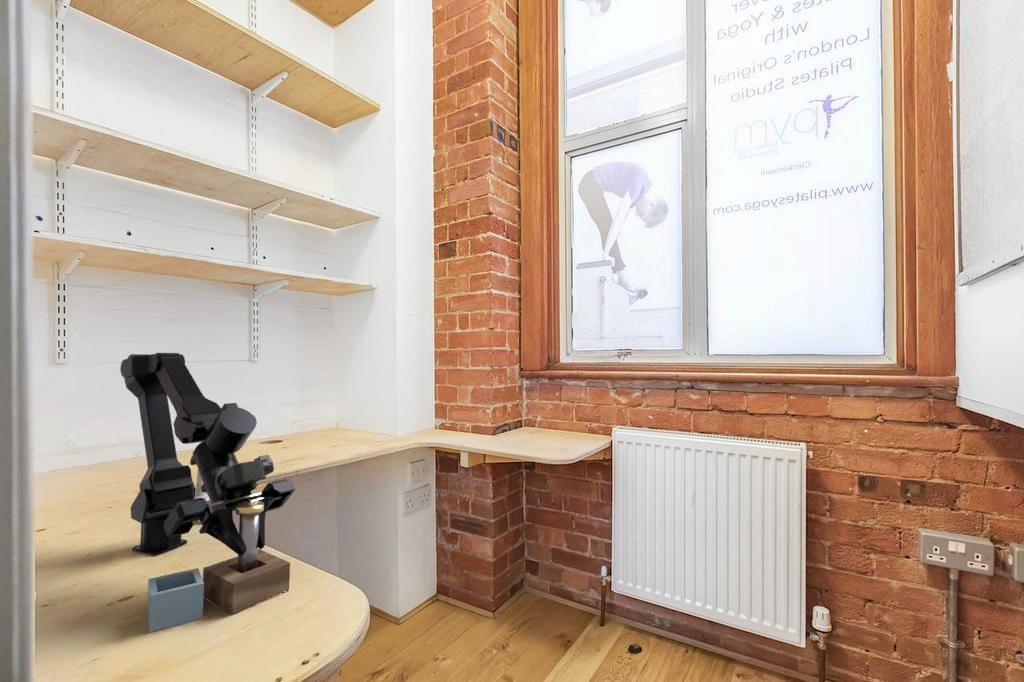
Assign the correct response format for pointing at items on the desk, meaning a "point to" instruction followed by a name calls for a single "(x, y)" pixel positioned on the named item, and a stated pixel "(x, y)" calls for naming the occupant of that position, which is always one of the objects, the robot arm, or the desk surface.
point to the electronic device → (199, 491)
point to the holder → (174, 599)
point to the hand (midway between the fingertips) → (252, 550)
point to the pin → (249, 533)
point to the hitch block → (245, 582)
